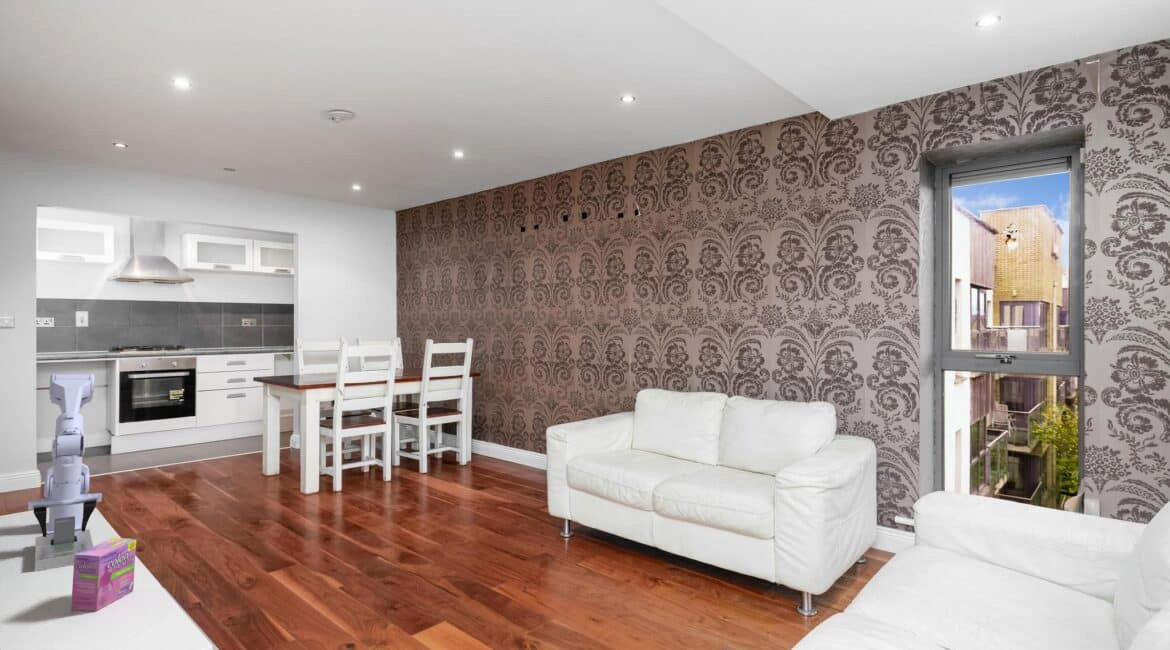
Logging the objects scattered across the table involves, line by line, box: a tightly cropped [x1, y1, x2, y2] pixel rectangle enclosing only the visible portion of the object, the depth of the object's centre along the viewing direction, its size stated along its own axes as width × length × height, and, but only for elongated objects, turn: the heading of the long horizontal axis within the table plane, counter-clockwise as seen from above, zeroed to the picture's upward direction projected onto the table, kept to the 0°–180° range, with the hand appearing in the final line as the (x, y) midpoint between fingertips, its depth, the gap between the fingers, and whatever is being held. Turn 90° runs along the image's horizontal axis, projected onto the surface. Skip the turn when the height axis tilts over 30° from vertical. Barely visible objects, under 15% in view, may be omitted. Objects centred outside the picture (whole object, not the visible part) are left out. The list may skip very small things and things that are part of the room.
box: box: [70, 537, 137, 612], centre depth 133 cm, size 10×6×12 cm, turn 179°
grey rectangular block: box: [53, 516, 76, 545], centre depth 159 cm, size 4×4×8 cm
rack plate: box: [34, 528, 94, 572], centre depth 157 cm, size 20×11×3 cm, turn 42°
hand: (64, 533), depth 159 cm, fingers open, 7 cm apart
